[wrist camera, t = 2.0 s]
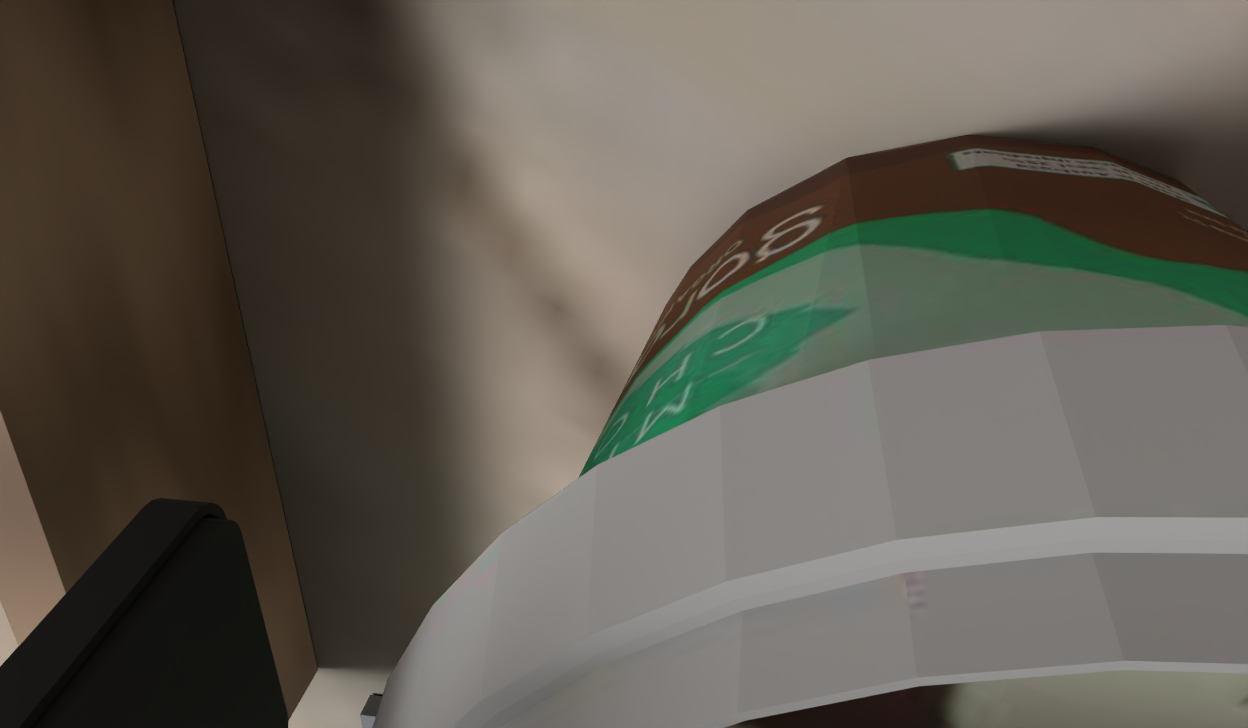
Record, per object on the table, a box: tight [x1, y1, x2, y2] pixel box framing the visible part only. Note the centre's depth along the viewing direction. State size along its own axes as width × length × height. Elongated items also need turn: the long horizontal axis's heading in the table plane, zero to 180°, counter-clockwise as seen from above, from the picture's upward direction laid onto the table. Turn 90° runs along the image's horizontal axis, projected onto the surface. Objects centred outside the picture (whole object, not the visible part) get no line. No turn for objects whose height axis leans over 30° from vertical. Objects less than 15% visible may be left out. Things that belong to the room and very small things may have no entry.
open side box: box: [0, 0, 318, 721], centre depth 13 cm, size 16×19×5 cm
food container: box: [372, 135, 1248, 728], centre depth 11 cm, size 12×6×10 cm, turn 157°
